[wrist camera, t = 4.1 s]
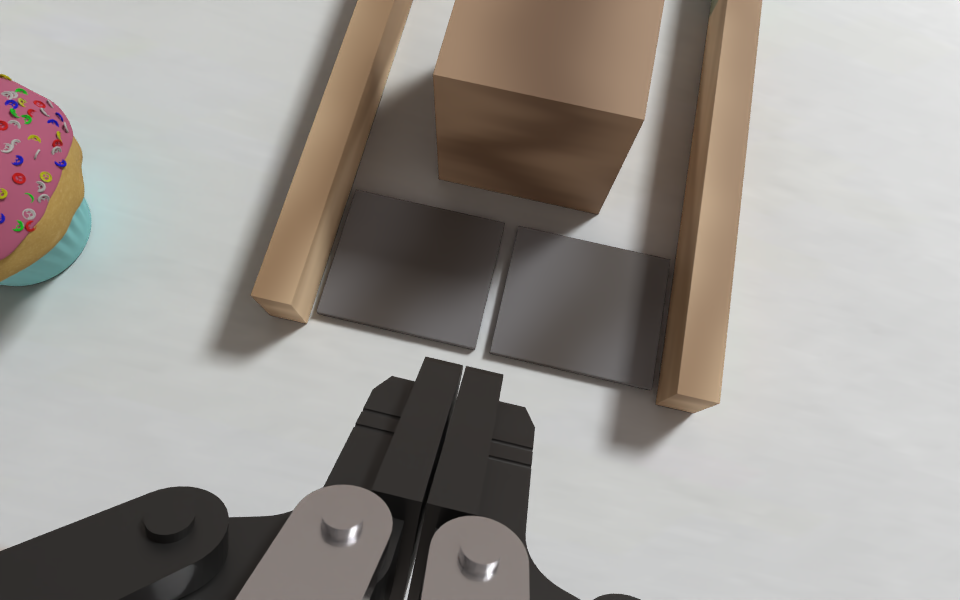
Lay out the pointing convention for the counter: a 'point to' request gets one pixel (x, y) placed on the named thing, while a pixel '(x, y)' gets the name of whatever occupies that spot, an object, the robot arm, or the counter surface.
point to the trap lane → (519, 238)
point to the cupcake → (38, 188)
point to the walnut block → (543, 95)
